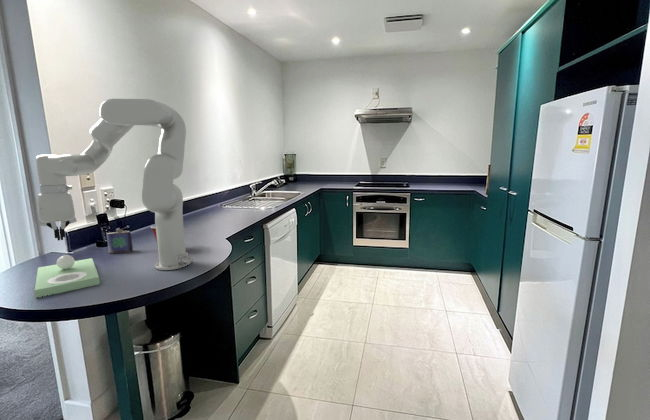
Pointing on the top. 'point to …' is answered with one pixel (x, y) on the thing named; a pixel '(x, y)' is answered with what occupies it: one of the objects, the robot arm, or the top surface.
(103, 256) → the top surface
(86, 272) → the tissue box
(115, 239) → the flask
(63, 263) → the ball
